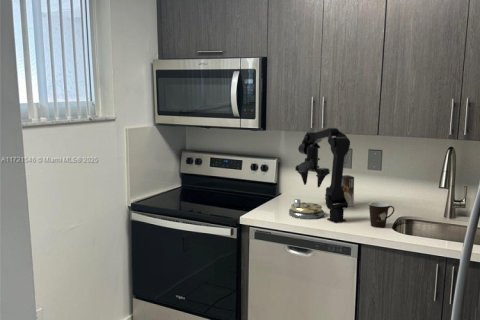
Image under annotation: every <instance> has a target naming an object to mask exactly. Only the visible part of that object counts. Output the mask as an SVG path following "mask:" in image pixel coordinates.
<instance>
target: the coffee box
mask: <svg viewBox="0 0 480 320" xmlns="http://www.w3.org/2000/svg"><path fill="white" fill-rule="evenodd" d="M342 189H343V191H344V196H345V199H346V201H347V203H348V207H347V208H349V207H351V208H352V207H354V206H355V205H354V204H355V203H354V202H355V201H354V199H355V196H354V195H355V193H354V192H355V176H352V175H347V174H345V175H343V176H342ZM339 204H340V203H339ZM333 205H335V204H333Z"/></svg>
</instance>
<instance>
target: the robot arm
mask: <svg viewBox="0 0 480 320" xmlns="http://www.w3.org/2000/svg"><path fill="white" fill-rule="evenodd" d="M324 139H327V143H328V144H329V145H330V151H331V153H332V155H333V158H332V168H331V170H330V169H329V168H327V167H320V165H319V161H320V160H321V159H320V158H319V149H320V148H321V146H320V145H319V143H321V142H322V140H324ZM350 145H351V141H350V138H349V137H348V136H347V135H346V134H345V133H343V132H341V131H340V130H339V129H338V128H337V127H329V128H326V129H323V130H320V131H307V132H305V134H304V137H303V140H302V141H301V143H300V144H299V146H298V152H299V153H300V154H302V155H306V157H305V158H304V161H303V162H301V163H299V164H298V165H296V166H295V170H294V171H296V172H297V173H298V174H299V175H300V176H301V180H302V182H303V185H304V186H306V185H307V182H308V176H309V172H313V173H316V175H315V176H316V178H317V182H316V183H317V188H320V187H321V185H322V184H323V182H324V180H325V178H326V176H328V175H330V173H331V178H330V179H331V180H330V185H329V186H328V187H326V188H325V195H324V196H325V197H324V199H325V206H326V208H327V210H328V209H329V217H327V218H326V220H327V221H330V222H333V223H337V224H338V223H344V222H347V220H346V219H345V218H344V214H345V213H344V211H345V209H348V208H349V207H348V203H347V201H346V199H345V196H344V191H343V189H342V176H343V174H344V165H345V157H346V155H347V154H348V152H350ZM330 171H331V172H330ZM339 203H340V204H339ZM333 204H335V205H333Z"/></svg>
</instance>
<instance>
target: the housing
mask: <svg viewBox="0 0 480 320" xmlns="http://www.w3.org/2000/svg"><path fill="white" fill-rule="evenodd" d="M324 212H325V210H323V209H322V211H321V212H320V213H316V214H300V213H296V212H293V211H292V210H291V208H289V209H288V215H289V216H290V217H291V216H292V217H291V218H294V217H295V218H294V219H299V218H300V220H317V219H321V217H322V218H323V217H324V215H325V214H324Z"/></svg>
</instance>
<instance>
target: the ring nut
mask: <svg viewBox="0 0 480 320" xmlns="http://www.w3.org/2000/svg"><path fill="white" fill-rule="evenodd" d="M293 201H294V202H293V203H292V204H291V207H290V209H291V210H292V211H293V212H296V213H300V214H316V213H320V212H321V211H322V210H323V205H321V204H319V203H314V202H302V201H301V199H299V198H294V200H293Z"/></svg>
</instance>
